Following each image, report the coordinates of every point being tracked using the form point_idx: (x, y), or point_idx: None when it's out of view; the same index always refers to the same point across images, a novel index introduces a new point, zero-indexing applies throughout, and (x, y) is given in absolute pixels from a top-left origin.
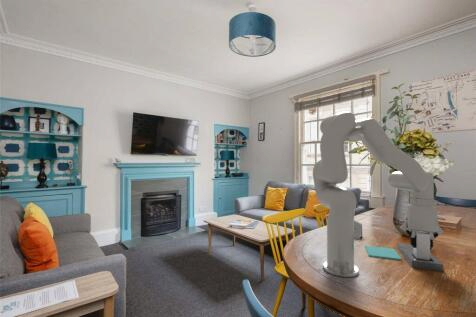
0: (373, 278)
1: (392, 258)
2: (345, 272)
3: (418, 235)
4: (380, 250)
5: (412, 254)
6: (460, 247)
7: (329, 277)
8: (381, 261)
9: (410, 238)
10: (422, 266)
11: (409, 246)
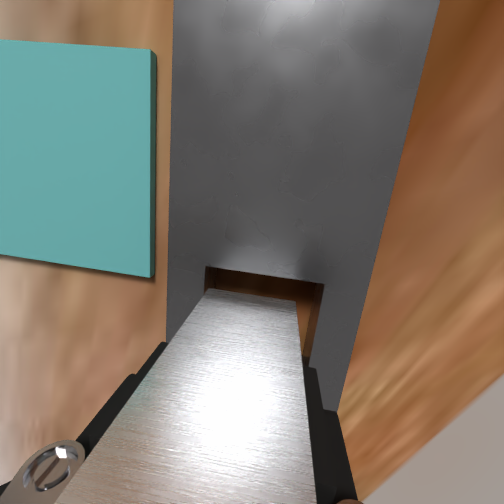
0: (13, 470)
1: (104, 269)
2: None
3: None
4: (43, 135)
5: (215, 265)
6: None
7: None
8: (48, 310)
9: (89, 431)
10: None
11: (267, 40)
